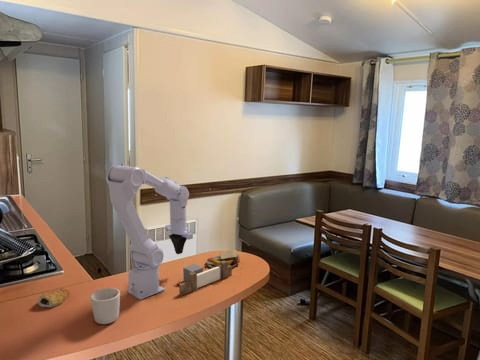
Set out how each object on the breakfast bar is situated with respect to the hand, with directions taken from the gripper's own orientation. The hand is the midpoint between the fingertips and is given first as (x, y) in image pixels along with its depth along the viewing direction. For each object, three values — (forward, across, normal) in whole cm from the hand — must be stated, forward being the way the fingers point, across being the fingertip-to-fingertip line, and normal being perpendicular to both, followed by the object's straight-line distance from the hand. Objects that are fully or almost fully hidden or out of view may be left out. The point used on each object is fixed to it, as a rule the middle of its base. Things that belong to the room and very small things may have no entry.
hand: (179, 253), depth 137 cm
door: (+7, -14, -2) cm, 16 cm away
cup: (+8, -10, +34) cm, 36 cm away
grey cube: (+8, -8, 0) cm, 12 cm away
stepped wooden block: (+8, -14, -2) cm, 16 cm away
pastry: (+8, +10, +41) cm, 43 cm away
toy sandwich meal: (+8, -4, -18) cm, 20 cm away
